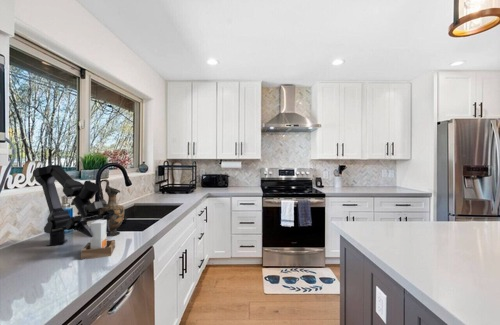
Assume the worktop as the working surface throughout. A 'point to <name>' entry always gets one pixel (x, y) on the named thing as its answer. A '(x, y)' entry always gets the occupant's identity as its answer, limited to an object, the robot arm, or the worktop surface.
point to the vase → (112, 204)
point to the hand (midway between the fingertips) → (100, 234)
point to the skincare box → (99, 234)
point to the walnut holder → (98, 251)
